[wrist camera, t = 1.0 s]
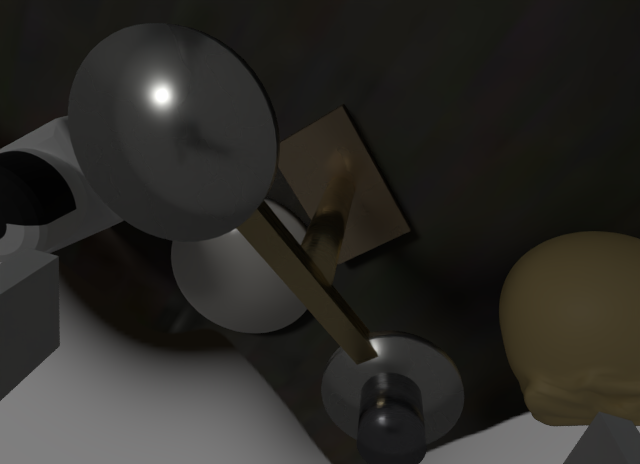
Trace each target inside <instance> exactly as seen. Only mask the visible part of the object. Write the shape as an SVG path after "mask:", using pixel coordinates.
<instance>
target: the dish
mask: <svg viewBox="0 0 640 464" xmlns="http://www.w3.org/2000/svg"><path fill="white" fill-rule="evenodd" d="M264 201H265V202H266V203H267V204H268V206H269V207H270V208H271V209H272V211H273V212H274V213H275V214H276V216H277V217H278V218H279V219H280V220H281V222H282V223H283V224H284V225H285V227H286V228H287V229H288V230H289V232H290V233H291V234H292V235H293V237H294V238H295V239H296V240H297V242H298V243H299V244H300V245H301V243H302V241H303V238H304V236H305V234H306V232H307V229H308V228H307V227H306V225H305V224H304V223H303V222H302V221H301V220H300V219H299V217H298V216H297V215H295V214H294V213H293V212H292V211H291V210H290V209H288V208H287V207H285V206H284V205H282V204H280V203H278V202H276V201H274V200H272V199H270V198H267V197H265V199H264ZM171 263H172V269H173V274H174V277H175V279H176V282H177V284H178V286H179V288H180V290H181V292H182V293H183V295H184V296H185V298H186V299H187V300H188V301H189V303H190V304H191V305H192V306H193V307H194V308H195V309H196V310H197V311H198V312H199V313H201V314H202V315H203V316H204V317H206V318H207V319H209V320H211V321H212V322H214V323H216V324H218V325H220V326H222V327H225V328H228V329H230V330H234V331H238V332H244V333H266V332H271V331H276V330H278V329H281V328H284V327H286V326H288V325H290V324H291V323H293V322H294V321H296V320H297V319H298V318H299V317H300V316H301V315H302V314H304V312H305V311H306V310H307V308H306V307H305V306H304V304H303V303H302V302H301V301H300V300H299V299H298V298H297V296H296V295H295V294H294V293H293V292H292V291H291V290H290V289H289V287H288V286H287V285H286V284H285V283H284V282H283V281H282V280H281V278H280V277H279V276H278V275H277V274H276V273H275V272H274V270H273V269H272V268H271V267H270V266H269V265H268V264H267V263H266V261H265V260H264V259H263V258H262V257H261V256H260V255H259V253H258V252H257V251H256V250H255V249H254V248H253V247H252V246H251V244H250V243H249V242H248V241H247V240H246V239H245V238H244V237H243V235H242V234H241V233H240V232H239V231H238V230H237V229H236V228H235V229H234V230H232V231H231V232H229V233H226V234H224V235H222V236H220V237H216V238H213V239H209V240H204V241H197V242H181V241H173V243H172V248H171Z"/></svg>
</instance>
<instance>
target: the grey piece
mask: <svg viewBox="0 0 640 464" xmlns="http://www.w3.org/2000/svg"><path fill="white" fill-rule="evenodd" d="M122 221H124V220H123V219H122V218H121V217H119V216H118V215H117V214H115V213H114V212H113V211H112V210H111V209H110V208H109V207H108V206H107V205H106V204H105V203H104V202H103V201H102V200H101V199H100V197H99V196H98V195H97V194H96V193H95V191H94V190H93V189H92V187H91V186H90V184H89V183H88V181H87V180H86V178H85V176H84V174H83V172H82V170H81V168H80V166H79V164H78V161H77V159H76V156H75V154H74V150H73V147H72V143H71V139H70V133H69V125H68V116H65V117H61V118H56V119H54V120H53V121H51V122H49V123H47V124H45V125H44V126H42V127H40V128H38V129H36V130H34V131H33V132H31V133H29V134H27V135H25V136H23V137H22V138H20V139H18V140H16V141H14V142H13V143H11V144H9V145H7V146H5V147H3V148H2V149H0V262H4V261H6V260H8V259H10V258H11V257H13V256H15V255H17V254H18V253H20V252H22V251H24V250H25V249H27V248H31V249H35V250H38V251H42V252H45V253H48V254H49V253H51V252H54V251H56V250H58V249H61V248H63V247H65V246H68V245H70V244H72V243H74V242H77V241H79V240H81V239H84V238H86V237H88V236H90V235H93V234H95V233H97V232H100V231H102V230H104V229H107V228H109V227H111V226H113V225H116V224H118V223H120V222H122Z"/></svg>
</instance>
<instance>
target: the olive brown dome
mask: <svg viewBox="0 0 640 464" xmlns="http://www.w3.org/2000/svg"><path fill="white" fill-rule="evenodd" d="M499 320H500V327H501V332H502V337H503V342H504V347H505V351H506V355H507V358H508V361H509V364H510V367H511V369H512V371H513V373H514V375H515V376H516V378H517V379H518V381H519V384H520V388H521V391H522V393H523V394H524V401H525V404H526V406H527V408H528V409H529V411H530V412H531V413H532V416H533V417H534V418H535V419H536V420H538V421H540V422H542V423H544V424H546V425H550V426H578V425H590V424H591V422H592V421H593V419H594V418H595V416H596V415H597V414H598V412H603V413H606V414H610V415H613V416H616V417H620V418H623V419H627V420H630V421H632V422H633V423H634V425H635V426H640V239H638V238H635V237H632V236H628V235H624V234H619V233H613V232H602V231H586V232H576V233H570V234H565V235H562V236H558V237H555V238H552V239H550V240H547V241H545V242H543V243H541V244H539V245H537V246H536V247H534V248H532V249H531V250H530V251H528V252H527V253H526V254H524V255H523V256H522V257H521V258H520V259H519V260H518V261H517V262H516V263H515V265H514V266H513V267H512V269H511V270H510V272H509V274H508V275H507V277H506V280H505V282H504V285H503V288H502V291H501V296H500V302H499Z"/></svg>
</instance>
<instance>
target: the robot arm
mask: <svg viewBox="0 0 640 464" xmlns="http://www.w3.org/2000/svg"><path fill="white" fill-rule="evenodd" d="M59 337H60V336H59V256H55V255H52V254H48V253H45V252H42V251H38V250H35V249H31V248H27V249H25V250H24V251H22V252H20V253H18V254H17V255H15V256H13V257H11V258H10V259H8V260H6V261H4V262H3V263H1V264H0V401H1V400H2V399H3V398H4V397H5V396H6V395H7V394H8V393H9V392H10V391H11V390H13V389H14V388H15V387H16V386H17V385H18V384H19V383H20V382H21V381H22V380H23V379H24V378H25V377H27V376H28V375H29V374H30V373H31V372H32V371H33V370H34V369H35V368H36V367H37V366H38V365H40V364H41V363H42V362H43V361H44V360H45V359H46V358H47V357H48V356H49V355H50V354H51V353H52V352H54V351H55V349H57V348H58V347H59V345H60V341H59V340H60V338H59ZM563 464H640V433H639V431H638V430H637V428H636V427H635V425H634V423H633V422H632V421H630V420H627V419H623V418H620V417H616V416H613V415H610V414H606V413H603V412H598V414H597V415H596V416H595V418H594V419H593V421H592V422H591V424H590V425H589V427H588V428H587V430H586V431H585V433H584V434H583V436H582V437H581V438H580V440H579V441H578V443H577V444H576V446H575V447H574V449H573V450H572V452H571V453H570V454H569V456H568V458H567V459H566V460H565V462H564V463H563Z"/></svg>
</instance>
